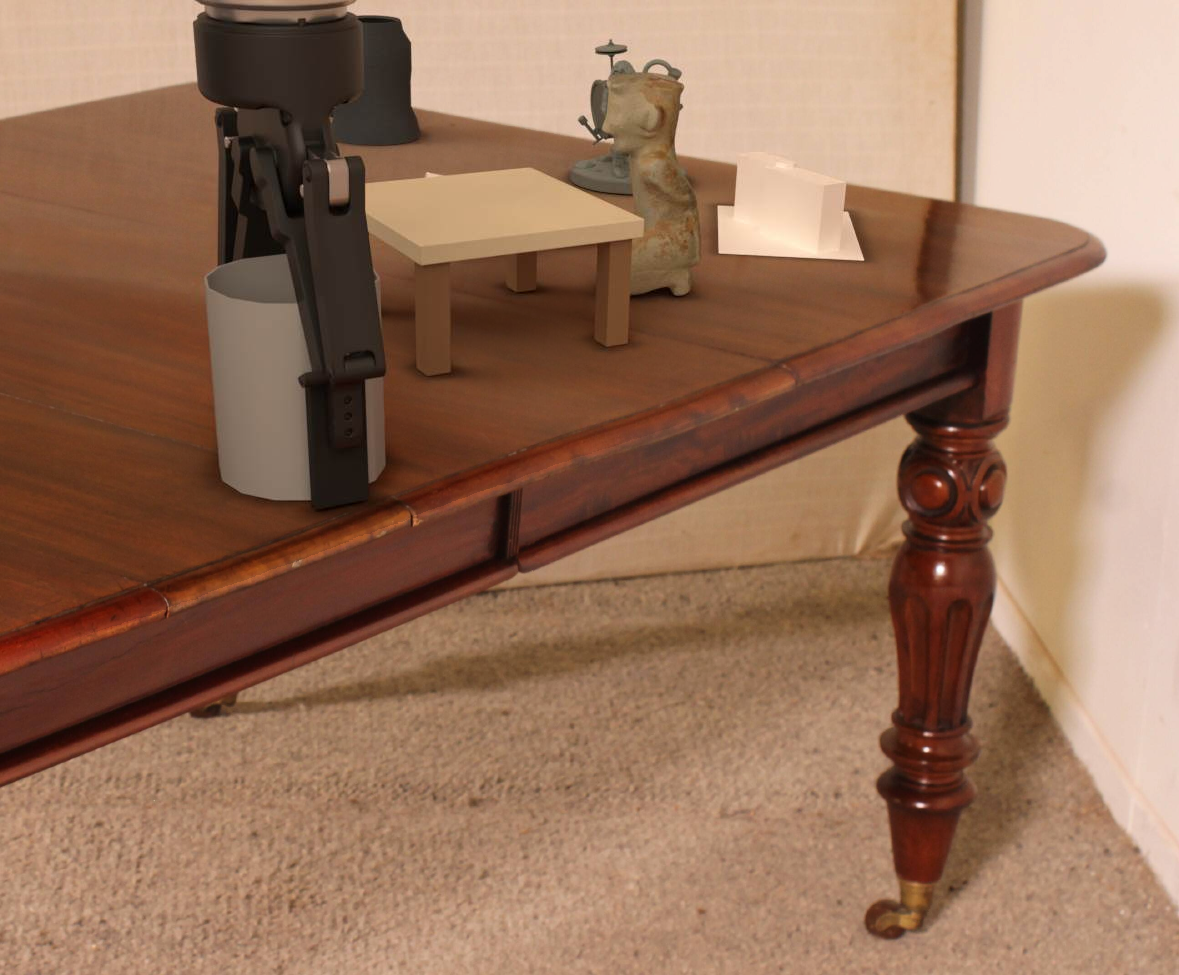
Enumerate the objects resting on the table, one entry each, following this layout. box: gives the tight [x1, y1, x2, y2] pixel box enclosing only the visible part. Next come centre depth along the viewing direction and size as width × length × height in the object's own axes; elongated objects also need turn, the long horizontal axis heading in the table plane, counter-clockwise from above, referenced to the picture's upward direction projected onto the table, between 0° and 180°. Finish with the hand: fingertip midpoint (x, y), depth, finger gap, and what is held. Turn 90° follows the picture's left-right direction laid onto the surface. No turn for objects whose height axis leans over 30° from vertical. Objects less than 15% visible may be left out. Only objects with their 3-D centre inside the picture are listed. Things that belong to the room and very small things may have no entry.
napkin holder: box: [717, 150, 865, 262], centre depth 120 cm, size 15×11×6 cm
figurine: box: [569, 38, 688, 195], centre depth 133 cm, size 11×11×12 cm
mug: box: [330, 14, 422, 146], centre depth 147 cm, size 12×9×11 cm
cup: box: [203, 254, 387, 501], centre depth 74 cm, size 8×8×10 cm
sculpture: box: [595, 71, 702, 297], centre depth 102 cm, size 6×7×15 cm
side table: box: [365, 167, 644, 377], centre depth 96 cm, size 15×15×8 cm
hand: (302, 462), depth 76 cm, fingers open, 10 cm apart
